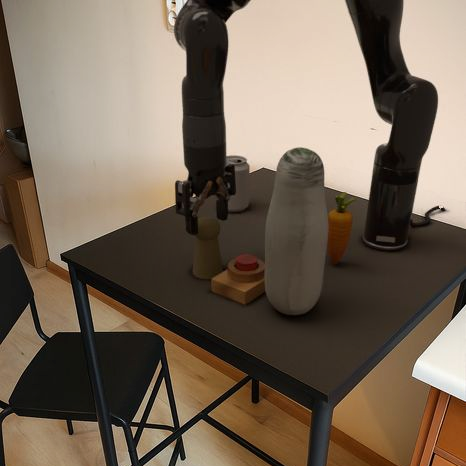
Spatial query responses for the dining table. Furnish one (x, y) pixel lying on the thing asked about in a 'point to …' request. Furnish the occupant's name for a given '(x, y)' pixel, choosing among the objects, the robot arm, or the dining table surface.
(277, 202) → the grey tall rounded cylinder
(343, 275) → the dining table surface
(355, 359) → the dining table surface
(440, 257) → the dining table surface
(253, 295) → the button box
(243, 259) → the red button
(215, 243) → the cork
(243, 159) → the can
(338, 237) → the carrot
